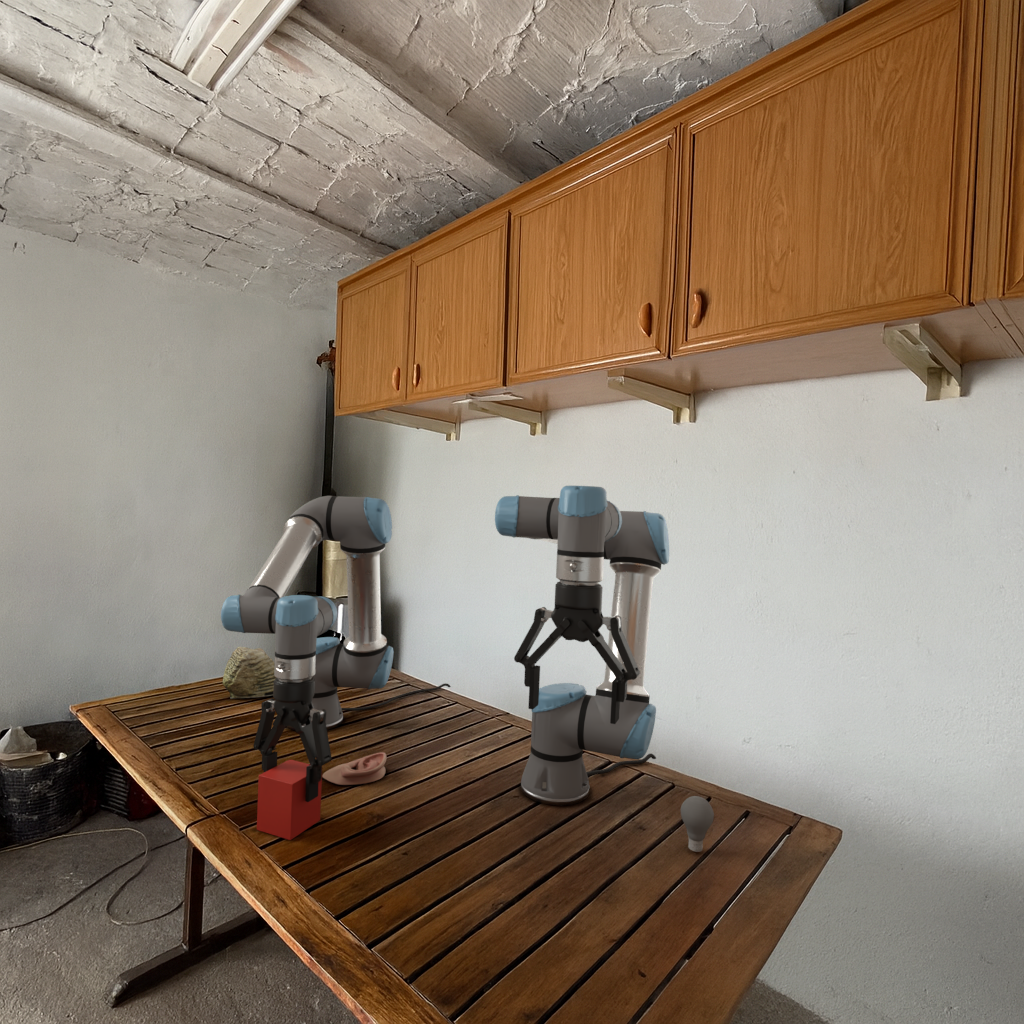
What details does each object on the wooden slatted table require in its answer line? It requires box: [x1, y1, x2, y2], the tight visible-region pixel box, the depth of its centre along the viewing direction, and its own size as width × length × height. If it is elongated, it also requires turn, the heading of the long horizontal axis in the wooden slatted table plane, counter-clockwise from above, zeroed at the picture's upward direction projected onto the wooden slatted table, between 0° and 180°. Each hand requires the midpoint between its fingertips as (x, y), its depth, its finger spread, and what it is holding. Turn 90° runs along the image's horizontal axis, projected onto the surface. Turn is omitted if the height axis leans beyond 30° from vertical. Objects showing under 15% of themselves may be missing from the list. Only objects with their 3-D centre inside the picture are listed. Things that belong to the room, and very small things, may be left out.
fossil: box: [222, 646, 276, 699], centre depth 198 cm, size 9×18×15 cm, turn 132°
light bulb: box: [680, 795, 715, 853], centre depth 119 cm, size 6×6×10 cm
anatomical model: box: [322, 751, 387, 786], centre depth 144 cm, size 13×4×12 cm
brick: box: [256, 759, 323, 841], centre depth 122 cm, size 8×8×10 cm
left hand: (290, 792), depth 122 cm, fingers open, 9 cm apart
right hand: (573, 714), depth 102 cm, fingers open, 13 cm apart
